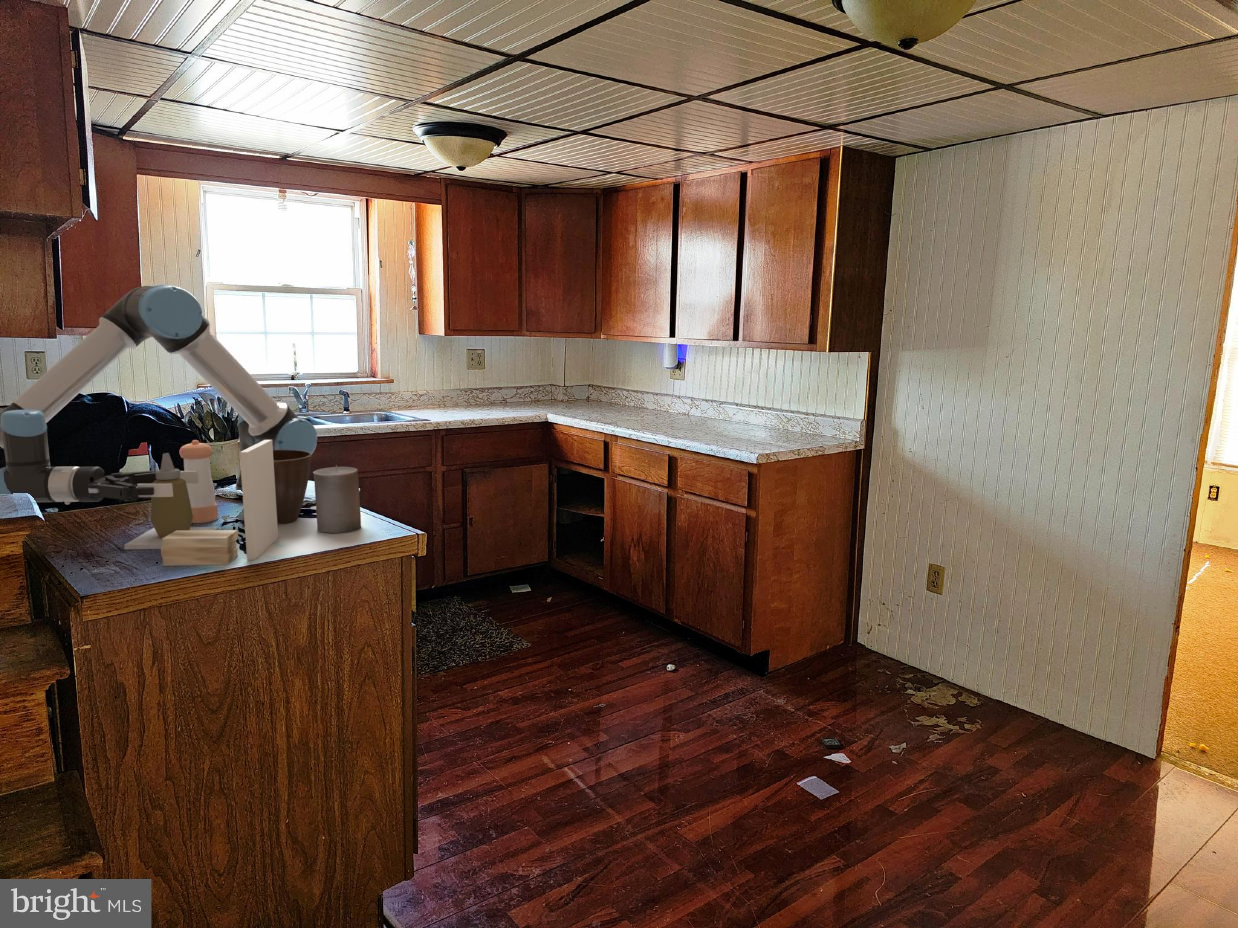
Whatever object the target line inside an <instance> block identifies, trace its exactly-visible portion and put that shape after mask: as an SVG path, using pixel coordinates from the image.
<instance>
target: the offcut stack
mask: <svg viewBox="0 0 1238 928" xmlns="http://www.w3.org/2000/svg"><path fill="white" fill-rule="evenodd" d="M162 540H163V547H162V548H161V549H160V554H161V555H160V556H161V558H162V565H163V567H164V566H168V567H169V566H171V567H172V566H214V565H215V566H217V565H219V566H220V565H229V564H230V563H231V562H233V560H235V559H236V558H237V557H239V552H238V547H237V543H236V542H237V540H239V531H238V529H231V530H230V529H220V530H176V531H174V532H173V533H171V534H169V535H168V536H166V537H164V538H162Z"/></svg>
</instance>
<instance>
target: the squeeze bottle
mask: <svg viewBox="0 0 1238 928" xmlns="http://www.w3.org/2000/svg"><path fill="white" fill-rule="evenodd" d="M161 458H162V459H161V463H160V469H157V471H155V475H156V479H158V480H155V481H154V482H153V483H152V484H167V483H172V486H173V497H150V498H151V499H150V501H151V502H150V522H151V525H152V526H153V528H155V530H156V532H157V534H158V536H159V537H162V538H164V537H166V536H168V535H169V534H171V533H173V532H174V531H176V530H190V527H192V526H191V525H192V524H193V523H192V519H193V514H192V509H191V504H190V499H189V495H188V490H187V485H186V481H185V480H183V479H181V478H179V477H181V476H180V471H181V470H180V469H179V468H175V465H174V463H173V461H172V458H171V456H170V453H169V452H166V453H165V452H163V454H162V457H161Z"/></svg>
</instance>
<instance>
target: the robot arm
mask: <svg viewBox="0 0 1238 928" xmlns="http://www.w3.org/2000/svg"><path fill="white" fill-rule="evenodd" d="M98 322H99V324H98V326H97V327H96V328H94V329H93V330H92V331H91V332H90V333H89V334H87V336H86V337H84V338H83V339H82V340H81V341H80V342H78V344H76V345H75V346H74V347H73V348H72V349H71V350H70V351H69V352H68V353H66V354H65V355H64V356H63V357H62V358H61V359H59V360H58V361H57V362H56V363H55V364H54V365H53V366H52V367H51V368H49V369H48V370H47V371H46V372H45V373H44V374H43V375H41V376H40V377H39V378H38V379H37V380H36V381H35V382H33V384H31V386H29V387H28V388H26V389H25V391H24V392H23V393H21V395H19V396H17V398H16V399H14V401H12V402H11V403H10V404H9V405H8V406H7V407H5V408H4V409H3V410H2V411H1V412H0V447H1V448H0V449H3V451H4V456H5V457H4V458H5V467H1V468H0V494H13V493H28V494H30V495H31V496H32V497H33V498H34V500H35V501H36V502H35V503H59V502H60V503H63V502H64V504H65V505H70V504H71V503H72V502H73V503H75V502H80V503H95V502H97V503H98V502H101V501H102V500H103V499H104V498H107V499H114V500H115V499H116V500H123V501H128V500H130V502H138V498H151V497H173V486H172V483H167V484H152V483H153V482H154V481H155V480H158V479H156V475H155V471H157V470H158V469H157V470H156V469H155V470H154V469H153V470H144V471H143V470H142V471H129V472H122V471H121V472H120V471H119V472H116V473H115V472H114V473H110V475H107V474H106V472H105V470H104V469H103V468H102V467H100V466H71V465H70V466H51V459H50V452H49V449H50V448H49V443H48V442H49V439H48V425H47V423H48V422H49V421H50V420H52V418H54V416H56V415H57V414H58V413H59V412H60V411H61V410H62V409H63V408H64V407H66V406H67V405H68V404H69V403H70V402H72V400H73V399H74V398H75V397H77V396H78V395H79V393H81V392H82V391H83V390H84V389H86V387H88V386H89V384H91V383H92V382H93V381H94V380H95V379H96V378H98V376H100V375H101V374H102V373H103V372H104V371H105V370H106V369H108V367H109V366H111V364H113V363H114V362H115V361H116V360H117V359H118V358H120V356H122V354H123V353H125V352H126V351H127V350H129V349H136V348H138V346H140V344H142V343H143V342H145V341H146V340H148V339H150V338H153V339H154V340H155V341H156V342H157V343H158V344H159V345H160V346H161V347H162V348H163V349H164V350H165V351H166V352H167V353H169V354H171V355H180V357H182V358H183V360H185V361H186V363H188V364H189V365H190V367H191V368H193V370H194V371H196V372H197V374H199V376H201V377H202V379H203V380H205V382H207V383H208V384H209V386H210V387H212V389H213V390H214V391H215V392H216V393H217V394H218V395H219V396H220V397H221V398H222V399H223V400H224V401H225V402H226V403H227V404H228V405H229V406H230V407H231V408H232V409H233V410H234V411H235V412H236V413H237V414H238V416H237V428H238V429H237V430H238V440H239V441H238V442H239V453H240V452H241V451H243V450H245V449H247V448H249V447H251V446H253V445H255V444H257V443H259V442H261V441H264V440H272V445H273V450H300V451H307V452H310V453H311V455H312V454H313V453H314V452H315V450H316V448H317V444H318V443H317V442H318V433H317V430H316V427H315V425H313V424H312V423H311V422H310V421H308V420H307V419H305V418H301V417H299V416H298V415H297V414H296V413H295V412H294V410H292V409H291V408H290V406H289V405H288V404H287V403H285V402H276V401H275V399H274V398H273V397H272V396H271V395H270V394H269V393H268V392H267V391H266V390H265V389H264V388H263V387H262V386H261V384H260V383H258V381H257V380H256V379H255V378H254V377H253V376H252V375H251V374H250V373H249V372H248V370H247V369H245V367H243V365H242V364H241V363H240V362H239V361H238V360H237V359H236V358H235V357H234V356H233V354H231V353H230V351H229V350H228V349H227V348H226V347H225V346H224V345H223V344H222V343H221V342H220V341H219V340H218V338H216V336H215V335H213V333H212V332H211V321H210V320H209V319H207V317H205V315H204V314H203V310H202V307H201V304H200V302H199V301H198V299H197V297H195V296H194V295H193V294H192V293H191V292H189V291H188V290H186V289H184V288H181V287H179V286H176V285H171V284H157V285H143V286H138V287H134V288H133V289H131V290H129V292H126V293H125V295H123V296H122V297H121V298H120V299H118V301H117V302H115V304H113V306H111V308H109V309H108V310H107V311H106V312H105V313H104V314H103V315H102V316H101V317H100V318H98ZM180 476H181V477H179V478H181V479H183V480H185V481H186V484H198V483H199V479H198V471H184V470H180ZM236 479H237V480H236V483H235V491H236V490H241V491H242V478H241V467H240V469H239V473H238V476H237V478H236Z"/></svg>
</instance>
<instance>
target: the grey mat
mask: <svg viewBox="0 0 1238 928" xmlns="http://www.w3.org/2000/svg"><path fill="white" fill-rule="evenodd" d="M190 530H221V529H220V526H191V527H190ZM162 547H163V540H162V537H159V536H158V534H157V532H156V530H155V528H154V527H153V528H151V529H148V530H147V531H145V532H144V533H142V534H141V535H139V536H137V537H134V539H132V540H130V541H128V542H126V543H125V544H124V550H161V548H162Z"/></svg>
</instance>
